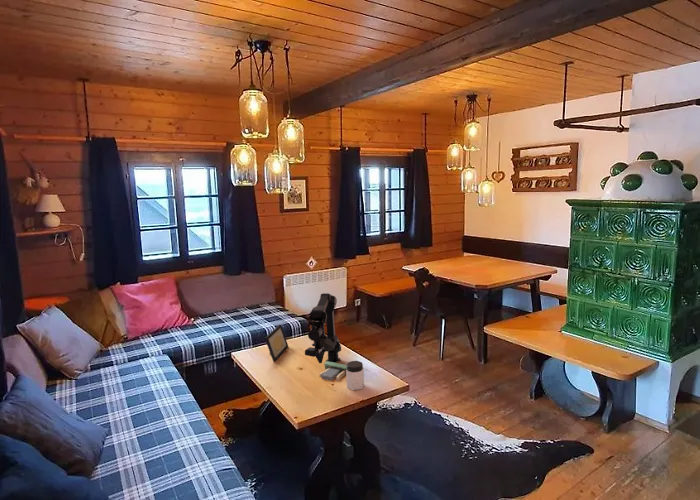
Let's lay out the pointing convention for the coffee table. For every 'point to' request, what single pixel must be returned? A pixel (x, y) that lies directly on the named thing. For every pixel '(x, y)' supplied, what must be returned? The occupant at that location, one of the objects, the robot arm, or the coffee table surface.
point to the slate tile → (331, 373)
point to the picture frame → (276, 343)
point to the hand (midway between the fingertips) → (320, 363)
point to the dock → (332, 364)
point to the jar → (355, 375)
